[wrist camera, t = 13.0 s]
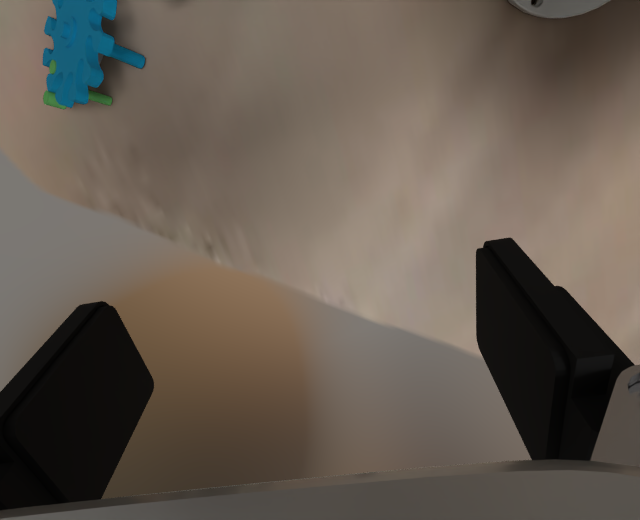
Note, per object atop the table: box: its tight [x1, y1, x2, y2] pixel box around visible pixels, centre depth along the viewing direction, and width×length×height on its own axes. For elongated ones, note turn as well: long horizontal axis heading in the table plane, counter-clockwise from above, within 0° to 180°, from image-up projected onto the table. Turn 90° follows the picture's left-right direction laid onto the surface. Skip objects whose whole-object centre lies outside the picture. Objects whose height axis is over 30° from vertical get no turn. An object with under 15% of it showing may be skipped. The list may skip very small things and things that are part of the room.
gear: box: [43, 0, 145, 109], centre depth 31 cm, size 11×6×10 cm
